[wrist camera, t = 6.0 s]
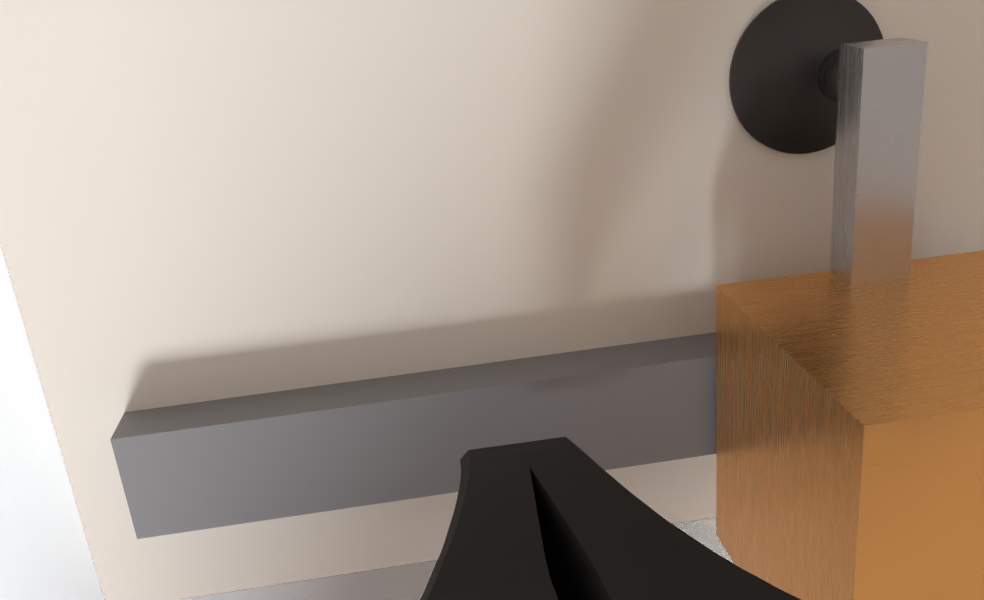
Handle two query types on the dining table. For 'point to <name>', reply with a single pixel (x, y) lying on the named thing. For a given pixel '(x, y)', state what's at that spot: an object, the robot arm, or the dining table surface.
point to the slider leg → (858, 377)
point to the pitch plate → (414, 248)
